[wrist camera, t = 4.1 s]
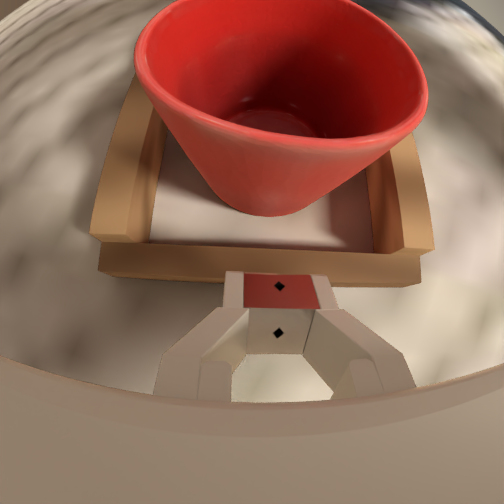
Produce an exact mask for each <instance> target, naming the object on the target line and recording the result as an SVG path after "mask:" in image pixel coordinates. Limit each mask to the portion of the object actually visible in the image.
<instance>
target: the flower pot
mask: <svg viewBox="0 0 504 504" xmlns="http://www.w3.org/2000/svg"><path fill="white" fill-rule="evenodd" d="M134 67H135V71H136V74H137V77H138V79H139V82H140V84H141V85H142V87H143V89H144V91H145V93H146V94H147V96H148V98H149V99H150V101H151V103H152V104H153V106H154V107H155V109H156V110H157V112H158V113H159V115H160V117H161V118H162V120H163V121H164V123H165V124H166V126H167V127H168V128H169V130H170V131H171V133H172V134H173V136H174V137H175V139H176V140H177V142H178V143H179V145H180V146H181V147H182V149H183V150H184V152H185V153H186V155H187V156H188V158H189V159H190V161H191V162H192V163H193V165H194V166H195V167H196V169H197V170H198V171H199V173H200V174H201V175H202V177H203V178H204V179H205V181H206V182H207V183H208V185H209V186H210V187H211V189H212V190H213V191H214V192H215V194H216V195H217V196H218V197H219V198H220V199H221V200H223V201H224V202H225V203H227V204H228V205H230V206H232V207H233V208H235V209H237V210H239V211H242V212H244V213H247V214H251V215H256V216H264V217H274V216H283V215H288V214H291V213H294V212H297V211H299V210H301V209H303V208H305V207H306V206H308V205H309V204H311V203H313V202H314V201H316V200H318V199H319V198H321V197H322V196H324V195H326V194H327V193H329V192H330V191H332V190H334V189H335V188H337V187H338V186H339V185H341V184H342V183H344V182H345V181H347V180H348V179H350V178H351V177H353V176H354V175H356V174H357V173H359V172H360V171H361V170H363V169H364V168H366V167H367V166H368V165H370V164H371V163H373V162H374V161H375V160H377V159H378V158H379V157H381V156H382V155H383V154H385V153H386V152H387V151H389V150H390V149H391V148H393V147H394V146H395V145H396V144H398V143H399V142H400V141H402V140H403V139H404V138H405V137H406V136H408V135H409V134H410V133H411V132H412V131H413V130H414V129H415V128H416V127H417V126H418V125H419V123H420V122H421V121H422V119H423V117H424V115H425V113H426V109H427V105H428V85H427V81H426V77H425V74H424V72H423V69H422V67H421V65H420V63H419V61H418V59H417V58H416V56H415V54H414V53H413V51H412V50H411V49H410V47H409V46H408V45H407V43H406V42H405V41H404V40H403V39H402V38H401V37H400V36H399V35H398V34H397V33H396V32H395V31H394V30H393V29H392V28H391V27H390V26H389V25H387V24H386V23H385V22H384V21H382V20H381V19H380V18H378V17H377V16H375V15H374V14H372V13H371V12H370V11H368V10H366V9H365V8H363V7H361V6H360V5H358V4H356V3H354V2H352V1H350V0H177V1H175V2H173V3H171V4H170V5H168V6H167V7H165V8H164V9H163V10H161V11H160V12H159V13H158V14H156V15H155V16H154V17H153V18H152V19H151V20H150V21H149V23H148V24H147V25H146V26H145V28H144V29H143V30H142V32H141V34H140V36H139V37H138V40H137V43H136V46H135V50H134Z"/></svg>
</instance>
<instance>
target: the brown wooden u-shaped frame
mask: <svg viewBox="0 0 504 504" xmlns="http://www.w3.org/2000/svg"><path fill="white" fill-rule="evenodd" d="M167 132H168V127H167V126H166V124H165V123H164V121H163V120H162V118H161V117H160V115H159V113H158V112H157V110H156V109H155V107H154V106H153V104H152V103H151V101H150V99H149V98H148V96H147V94H146V93H145V91H144V89H143V87H142V85H141V84H140V82H139V79H138V77H137V74H136V73H135V75H134V78H133V80H132V82H131V85H130V87H129V90H128V92H127V95H126V98H125V100H124V103H123V106H122V108H121V111H120V114H119V117H118V120H117V123H116V126H115V129H114V132H113V135H112V138H111V142H110V145H109V148H108V152H107V155H106V159H105V162H104V166H103V170H102V174H101V178H100V182H99V186H98V190H97V194H96V199H95V204H94V208H93V213H92V218H91V224H90V229H89V234H90V235H92V236H94V237H95V238H97V239H98V240H100V241H101V242H102V243H101V250H100V257H99V265H98V271H100V272H103V273H106V274H108V275H111V276H113V277H126V278H140V279H154V280H170V281H186V282H204V283H225V273H226V271H240V272H243V273H244V272H257V273H274V274H297V275H309V274H325V275H326V276H327V277H328V280H329V283H330V285H331V287H406V286H410V285H414V284H418V283H421V268H420V255H423V254H425V253H427V252H430V251H432V250H435V247H434V238H433V230H432V223H431V216H430V210H429V204H428V198H427V193H426V188H425V183H424V178H423V174H422V169H421V165H420V161H419V156H418V153H417V149H416V145H415V141H414V138H413V134H412V132H411V133H410V134H409V135H408V136H406V137H405V138H404V139H403V140H402V141H400V142H399V143H398V144H396V145H395V146H394V147H393V148H391V149H390V150H389V151H387V152H386V153H385V154H383V155H382V156H381V157H379V158H378V159H377V160H375V161H374V162H373V163H371V164H370V165H368V166H367V167H366V168H365V170H366V177H367V185H368V193H369V201H370V211H371V221H372V232H373V246H374V254H373V253H352V252H331V251H310V250H288V249H266V248H243V247H220V246H196V245H172V244H149V236H150V228H151V221H152V214H153V207H154V201H155V195H156V188H157V183H158V177H159V172H160V166H161V161H162V156H163V151H164V146H165V141H166V137H167Z"/></svg>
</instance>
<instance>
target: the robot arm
mask: <svg viewBox="0 0 504 504" xmlns="http://www.w3.org/2000/svg"><path fill="white" fill-rule="evenodd" d="M274 353H275V354H303V357H304V358H305V359H306V360H307V361H308V363H309V364H310V365H311V366H312V367H313V369H314V370H315V371H316V372H317V373H318V374H319V376H320V377H321V378H322V379H323V380H324V381H325V383H326V384H327V385H328V386H329V387H330V388H331V390H332V391H333V392H334V393H333V395H332V397H331V399H330V400H322V401H306V402H277V403H253V402H231V377H232V374H233V372H234V371H235V369H236V368H237V367H238V365H239V364H240V363H241V361H242V360H243V359H244V357H245V356H246V354H274ZM0 504H504V363H503V364H500V365H497V366H494V367H492V368H489V369H485V370H482V371H479V372H476V373H473V374H469V375H466V376H462V377H458V378H455V379H451V380H447V381H443V382H439V383H435V384H430V385H426V386H421V387H416V385H415V382H414V380H413V377H412V375H411V373H410V370H409V368H408V365H407V363H406V361H405V359H404V356H403V354H402V353H401V352H399V351H398V350H397V349H395V348H394V347H393V346H392V345H390V344H389V343H388V342H386V341H385V340H384V339H382V338H381V337H380V336H378V335H377V334H376V333H374V332H373V331H372V330H370V329H369V328H368V327H366V326H365V325H364V324H363V323H361V322H360V321H359V320H357V319H356V318H355V317H353V316H352V315H351V314H349V313H348V312H347V311H345V310H344V309H339V307H338V304H337V301H336V299H335V296H334V293H333V291H332V288H331V285H330V283H329V280H328V277H327V276H326V275H325V274H309V275H297V274H274V273H257V272H244V273H243V272H240V271H226V273H225V283H224V294H223V304H222V307H216V308H215V309H214V310H213V311H212V312H211V313H210V314H209V315H207V316H206V317H205V318H204V319H203V320H202V321H201V322H199V323H198V324H197V325H196V326H195V327H194V328H193V329H191V330H190V331H189V332H188V333H187V334H186V335H185V336H183V337H182V338H181V339H180V340H179V341H178V342H176V343H175V344H174V345H173V346H172V347H171V348H170V349H168V350H167V351H166V352H165V353H164V354H163V355H162V358H161V362H160V367H159V371H158V375H157V379H156V383H155V388H154V392H153V395H151V394H144V393H138V392H132V391H126V390H120V389H115V388H110V387H105V386H101V385H96V384H92V383H87V382H83V381H79V380H75V379H71V378H67V377H64V376H60V375H57V374H53V373H50V372H46V371H43V370H40V369H37V368H34V367H31V366H28V365H25V364H22V363H19V362H16V361H13V360H11V359H8V358H5V357H3V356H0Z"/></svg>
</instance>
